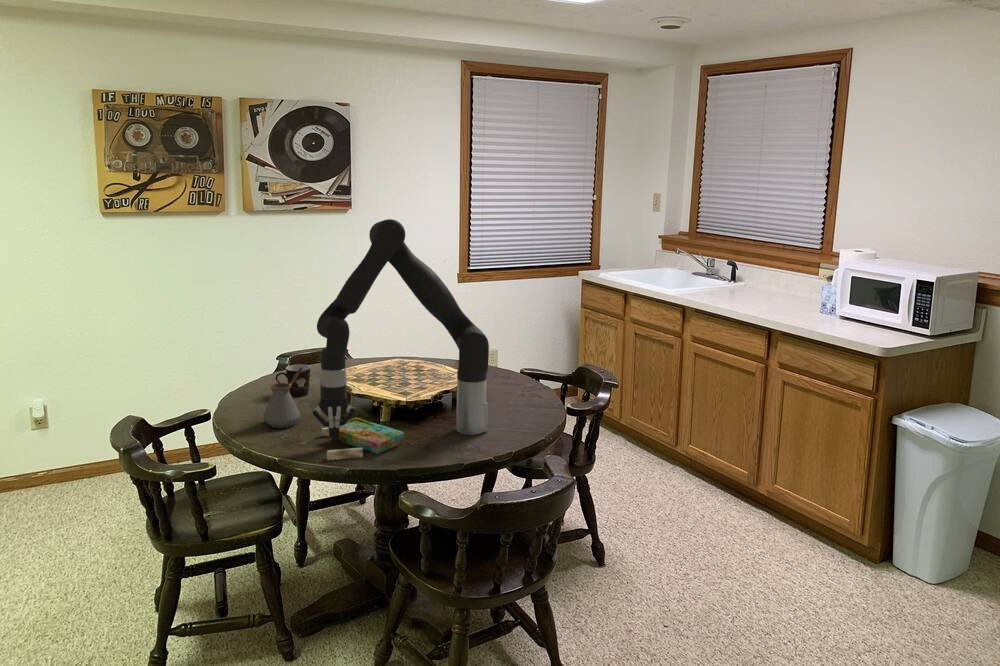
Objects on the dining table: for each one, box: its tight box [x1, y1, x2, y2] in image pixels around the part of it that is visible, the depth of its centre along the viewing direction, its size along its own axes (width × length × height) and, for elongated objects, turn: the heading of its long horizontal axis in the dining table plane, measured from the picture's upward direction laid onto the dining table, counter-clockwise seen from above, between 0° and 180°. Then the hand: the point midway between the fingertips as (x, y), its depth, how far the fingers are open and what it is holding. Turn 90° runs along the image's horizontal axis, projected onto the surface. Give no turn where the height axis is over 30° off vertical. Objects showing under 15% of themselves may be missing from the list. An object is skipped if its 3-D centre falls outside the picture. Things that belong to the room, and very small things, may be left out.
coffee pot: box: [262, 367, 305, 429], centre depth 250 cm, size 21×12×15 cm, turn 168°
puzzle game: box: [328, 417, 405, 455], centre depth 232 cm, size 12×5×20 cm
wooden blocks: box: [321, 426, 364, 461], centre depth 230 cm, size 10×20×2 cm, turn 17°
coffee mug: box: [275, 364, 312, 398], centre depth 277 cm, size 12×9×10 cm
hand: (334, 438), depth 228 cm, fingers closed
